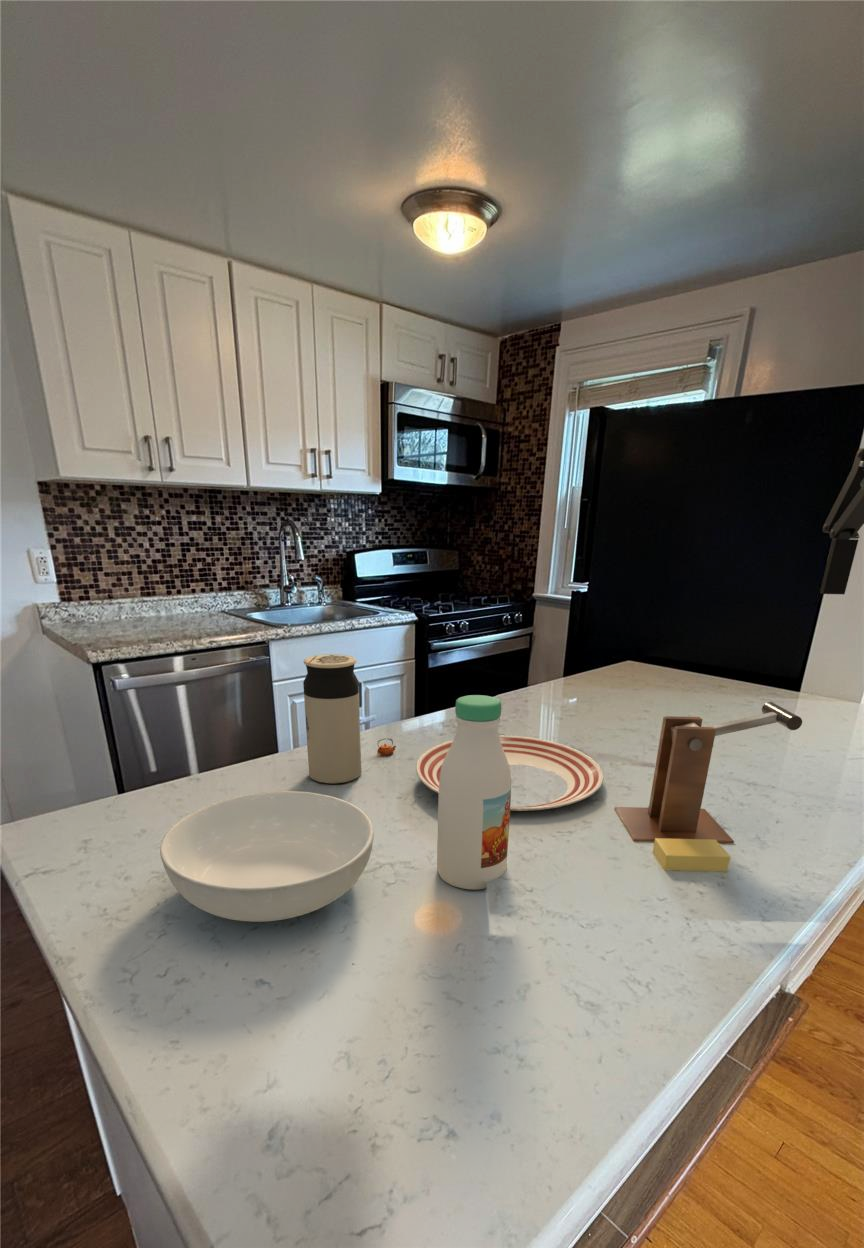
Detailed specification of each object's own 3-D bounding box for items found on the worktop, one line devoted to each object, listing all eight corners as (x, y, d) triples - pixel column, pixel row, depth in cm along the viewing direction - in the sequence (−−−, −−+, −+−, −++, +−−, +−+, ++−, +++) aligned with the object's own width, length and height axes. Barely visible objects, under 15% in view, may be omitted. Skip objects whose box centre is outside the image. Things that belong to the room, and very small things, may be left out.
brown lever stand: (702, 818, 82) (723, 712, 76) (731, 852, 73) (758, 735, 68) (613, 816, 82) (627, 710, 76) (632, 849, 73) (650, 733, 68)
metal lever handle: (776, 716, 75) (775, 697, 74) (802, 731, 69) (802, 711, 68) (667, 740, 76) (665, 722, 75) (684, 757, 71) (682, 738, 70)
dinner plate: (592, 841, 75) (595, 817, 74) (387, 807, 83) (387, 785, 82) (607, 765, 99) (609, 746, 98) (447, 745, 108) (448, 727, 106)
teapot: (381, 749, 105) (380, 735, 104) (397, 752, 104) (397, 737, 103) (374, 755, 102) (373, 740, 101) (390, 757, 101) (390, 742, 100)
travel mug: (367, 767, 97) (364, 655, 90) (352, 787, 90) (348, 666, 83) (319, 763, 98) (313, 652, 92) (301, 782, 91) (293, 663, 84)
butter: (711, 862, 71) (715, 839, 70) (725, 880, 67) (731, 856, 66) (650, 860, 71) (654, 837, 70) (662, 879, 67) (666, 855, 66)
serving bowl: (284, 982, 51) (277, 914, 49) (124, 909, 61) (112, 848, 58) (411, 870, 68) (411, 815, 66) (271, 826, 78) (266, 776, 75)
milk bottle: (455, 898, 63) (460, 713, 56) (426, 862, 70) (428, 693, 63) (518, 882, 66) (532, 705, 59) (485, 850, 73) (493, 687, 65)
